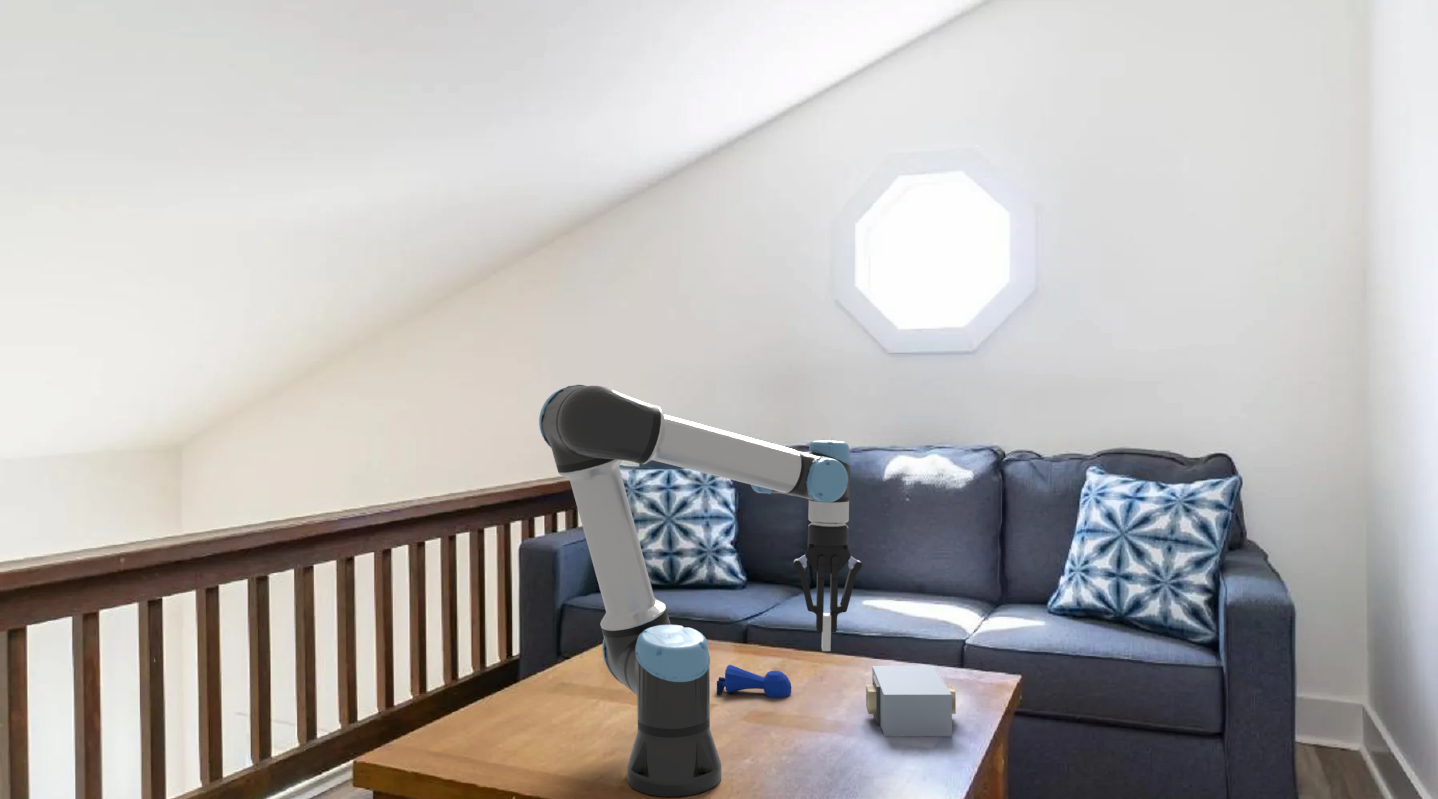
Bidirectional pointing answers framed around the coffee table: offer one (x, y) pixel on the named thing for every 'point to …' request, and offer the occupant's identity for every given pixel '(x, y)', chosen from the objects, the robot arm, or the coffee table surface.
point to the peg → (872, 699)
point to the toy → (754, 682)
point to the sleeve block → (912, 701)
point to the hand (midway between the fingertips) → (826, 649)
